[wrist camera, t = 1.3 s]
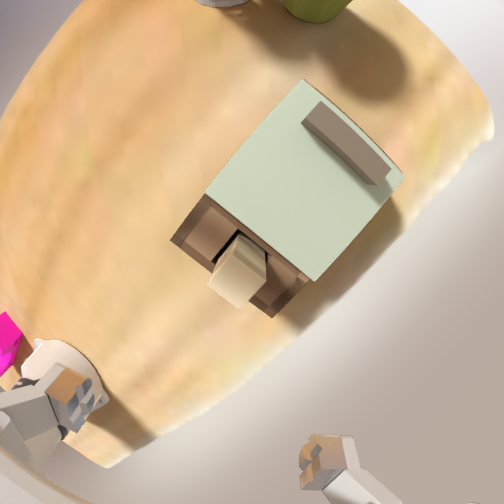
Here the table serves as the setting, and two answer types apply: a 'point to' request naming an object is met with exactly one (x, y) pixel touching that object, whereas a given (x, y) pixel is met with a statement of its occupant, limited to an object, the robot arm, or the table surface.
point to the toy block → (8, 342)
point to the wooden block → (239, 270)
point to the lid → (306, 180)
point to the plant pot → (315, 9)
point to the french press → (221, 2)
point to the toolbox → (218, 234)
